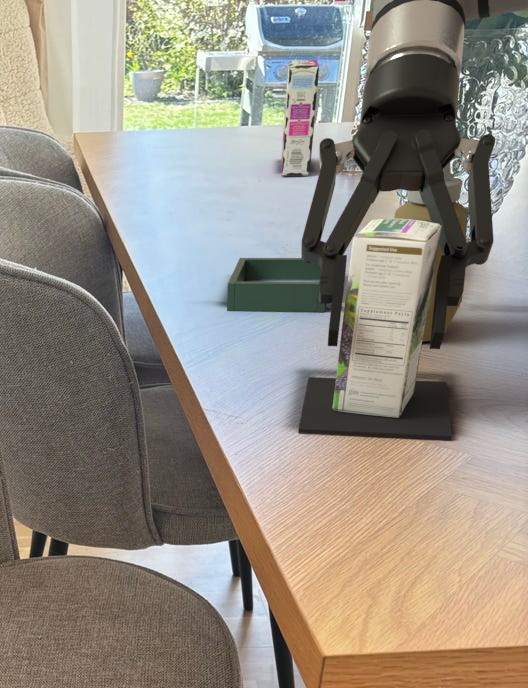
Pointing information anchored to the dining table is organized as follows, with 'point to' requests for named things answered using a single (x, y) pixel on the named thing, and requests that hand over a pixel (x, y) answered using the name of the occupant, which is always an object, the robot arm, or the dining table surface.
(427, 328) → the squeeze bottle
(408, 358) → the syrup box
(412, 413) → the mat
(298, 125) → the candy bar box
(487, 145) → the robot arm
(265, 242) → the dining table surface
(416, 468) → the dining table surface
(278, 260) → the tray
